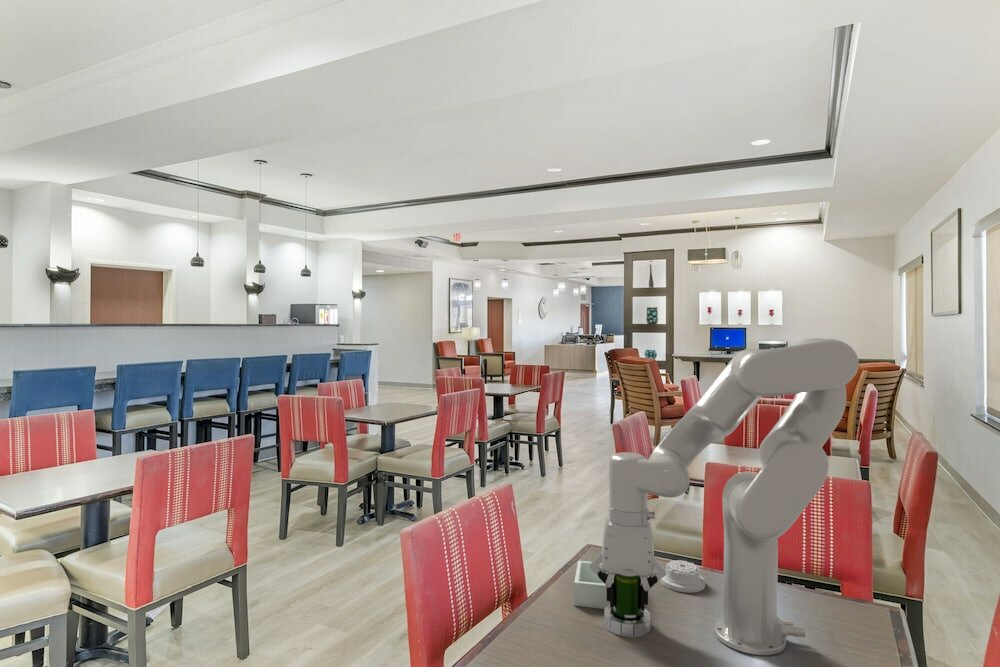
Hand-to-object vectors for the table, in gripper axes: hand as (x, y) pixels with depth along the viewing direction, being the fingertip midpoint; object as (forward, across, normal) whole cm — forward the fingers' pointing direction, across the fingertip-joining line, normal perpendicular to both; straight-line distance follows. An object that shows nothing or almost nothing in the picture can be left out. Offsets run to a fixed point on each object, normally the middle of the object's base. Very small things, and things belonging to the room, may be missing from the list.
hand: (627, 605), depth 117 cm
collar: (+4, 0, 0) cm, 4 cm away
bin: (+4, +5, -12) cm, 14 cm away
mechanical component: (+4, -13, -23) cm, 26 cm away
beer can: (+4, 0, 0) cm, 4 cm away
